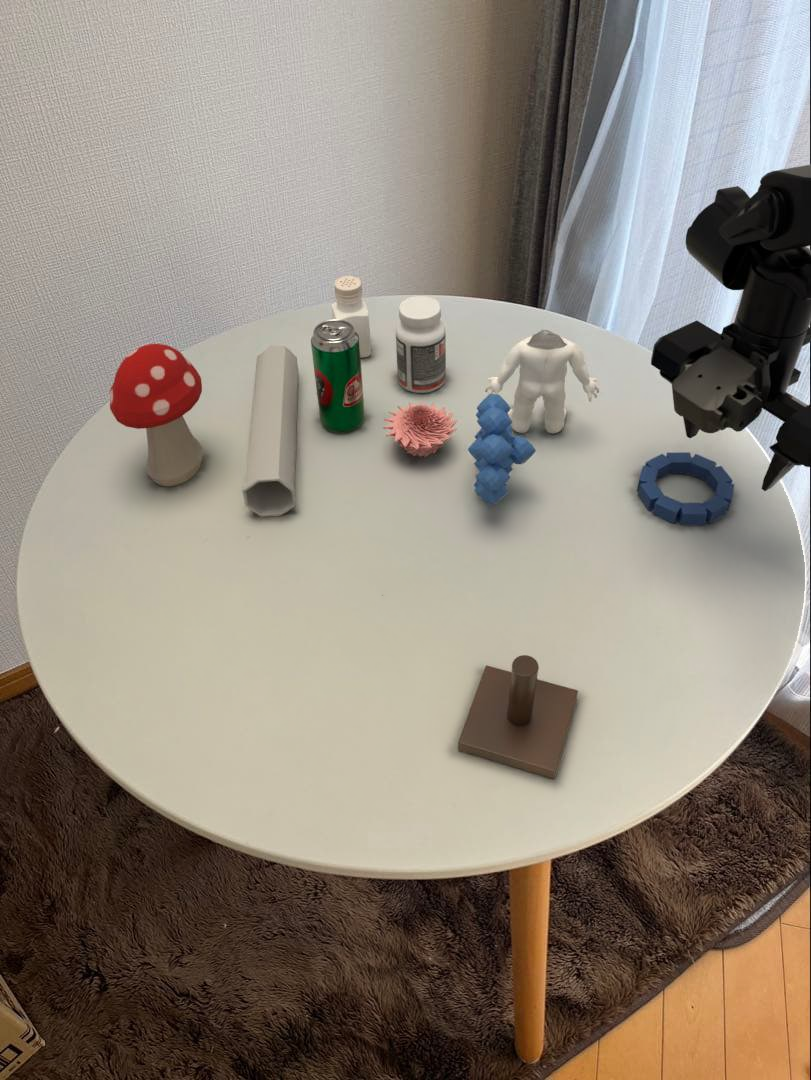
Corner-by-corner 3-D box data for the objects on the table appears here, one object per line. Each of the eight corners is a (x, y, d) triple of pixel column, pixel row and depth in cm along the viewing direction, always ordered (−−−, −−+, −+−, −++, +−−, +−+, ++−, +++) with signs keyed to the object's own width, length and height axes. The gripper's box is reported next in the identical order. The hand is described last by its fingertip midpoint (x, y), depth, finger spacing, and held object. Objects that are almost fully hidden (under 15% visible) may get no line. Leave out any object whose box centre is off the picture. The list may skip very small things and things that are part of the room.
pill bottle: (453, 373, 108) (454, 300, 100) (433, 399, 104) (433, 326, 97) (410, 361, 109) (408, 289, 102) (389, 387, 106) (385, 314, 99)
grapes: (534, 535, 89) (544, 442, 80) (465, 533, 89) (468, 441, 81) (529, 457, 97) (538, 365, 88) (466, 456, 97) (469, 364, 89)
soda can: (355, 439, 100) (347, 348, 91) (313, 430, 101) (301, 339, 92) (371, 411, 103) (365, 321, 94) (330, 403, 104) (320, 313, 95)
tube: (247, 344, 106) (232, 488, 89) (288, 330, 105) (282, 472, 87) (268, 379, 110) (257, 523, 92) (307, 365, 108) (305, 508, 91)
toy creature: (588, 409, 102) (602, 318, 94) (593, 443, 98) (608, 351, 89) (482, 408, 103) (486, 317, 94) (483, 442, 99) (487, 351, 90)
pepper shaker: (372, 358, 110) (368, 289, 103) (340, 363, 110) (333, 294, 103) (365, 340, 113) (361, 271, 106) (334, 344, 112) (327, 276, 105)
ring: (734, 473, 94) (738, 462, 93) (724, 535, 88) (728, 523, 87) (646, 455, 97) (648, 444, 95) (630, 514, 91) (632, 502, 89)
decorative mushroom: (173, 430, 102) (142, 315, 91) (236, 452, 99) (211, 335, 88) (116, 484, 96) (74, 368, 85) (181, 509, 93) (147, 392, 82)
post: (576, 698, 76) (588, 639, 70) (554, 779, 71) (565, 723, 65) (485, 672, 78) (489, 613, 72) (457, 750, 73) (459, 693, 67)
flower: (448, 479, 95) (449, 438, 91) (375, 468, 96) (373, 428, 92) (463, 431, 100) (464, 391, 96) (393, 422, 101) (391, 382, 97)
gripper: (620, 300, 76) (596, 442, 87) (800, 412, 65) (746, 557, 77) (712, 260, 80) (678, 400, 91) (896, 359, 69) (831, 504, 81)
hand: (727, 461), depth 85 cm, fingers open, 9 cm apart
